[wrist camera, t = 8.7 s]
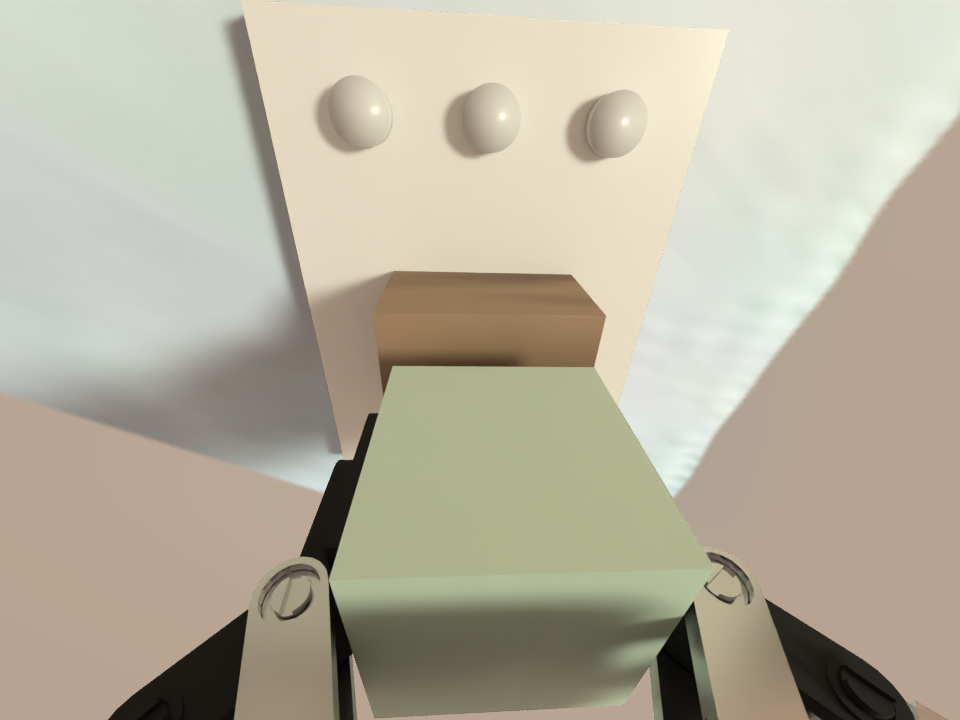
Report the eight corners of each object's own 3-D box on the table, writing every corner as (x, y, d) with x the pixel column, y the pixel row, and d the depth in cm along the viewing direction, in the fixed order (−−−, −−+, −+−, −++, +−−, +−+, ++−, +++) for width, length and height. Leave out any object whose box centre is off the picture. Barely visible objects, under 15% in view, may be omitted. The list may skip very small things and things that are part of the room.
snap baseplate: (257, 10, 11) (228, -10, 9) (709, 38, 12) (742, 24, 10) (349, 449, 20) (341, 472, 19) (595, 447, 21) (605, 468, 19)
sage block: (392, 365, 10) (328, 580, 5) (594, 367, 10) (715, 568, 5) (406, 500, 12) (374, 718, 8) (563, 497, 13) (623, 704, 8)
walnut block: (393, 270, 14) (372, 312, 11) (571, 274, 14) (606, 316, 11) (406, 411, 18) (393, 476, 14) (547, 411, 18) (568, 474, 15)
